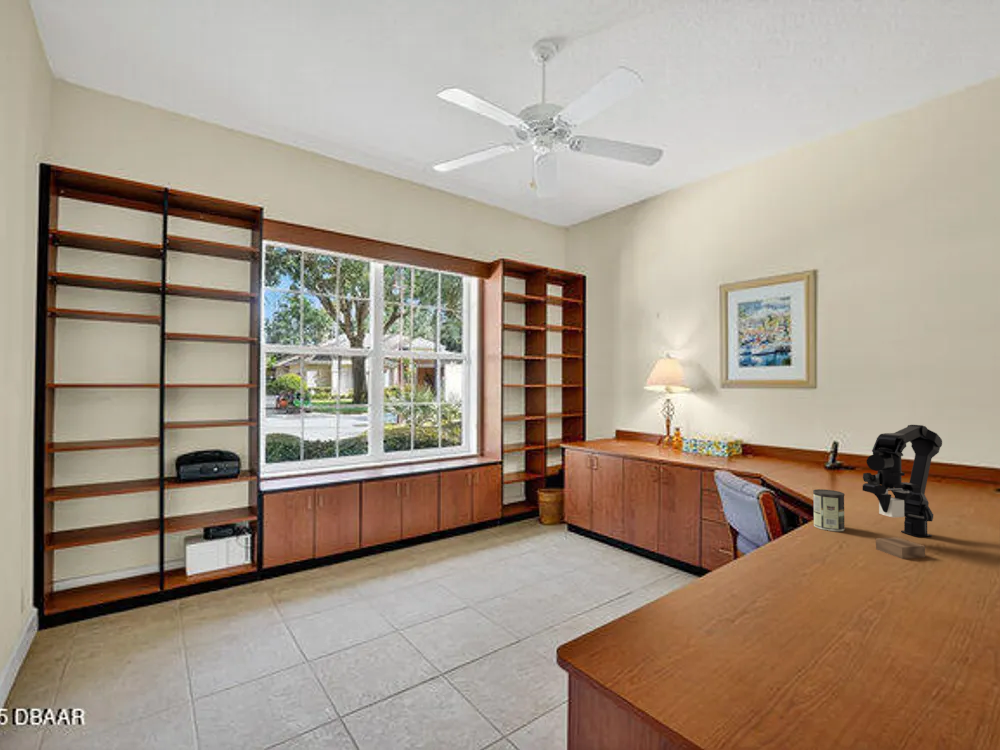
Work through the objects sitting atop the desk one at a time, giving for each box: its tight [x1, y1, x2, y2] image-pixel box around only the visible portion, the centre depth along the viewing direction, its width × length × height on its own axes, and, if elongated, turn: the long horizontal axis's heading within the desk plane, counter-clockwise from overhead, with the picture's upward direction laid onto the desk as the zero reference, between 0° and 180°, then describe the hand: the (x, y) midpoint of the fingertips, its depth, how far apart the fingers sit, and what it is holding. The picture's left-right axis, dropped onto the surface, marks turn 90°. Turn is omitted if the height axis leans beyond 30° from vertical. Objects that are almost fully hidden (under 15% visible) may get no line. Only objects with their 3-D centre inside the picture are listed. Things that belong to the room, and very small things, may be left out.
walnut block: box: [875, 536, 926, 560], centre depth 159 cm, size 9×9×4 cm
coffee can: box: [812, 488, 846, 532], centre depth 188 cm, size 10×10×14 cm
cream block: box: [878, 496, 905, 518], centre depth 172 cm, size 5×5×6 cm
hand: (891, 511), depth 172 cm, fingers closed on cream block, 5 cm apart
